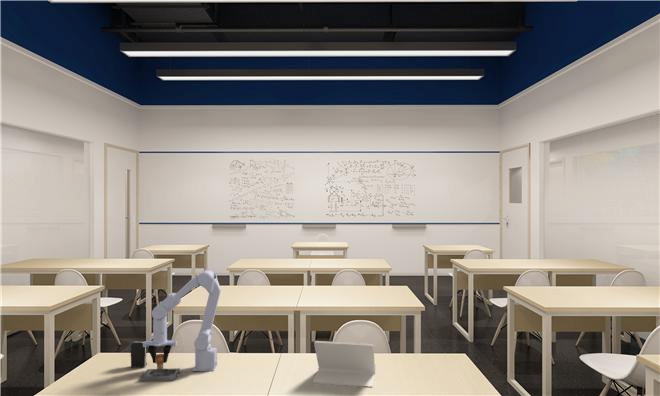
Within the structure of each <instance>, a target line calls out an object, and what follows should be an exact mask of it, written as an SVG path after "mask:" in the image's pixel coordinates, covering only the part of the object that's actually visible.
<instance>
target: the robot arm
mask: <svg viewBox="0 0 660 396" xmlns="http://www.w3.org/2000/svg"><path fill="white" fill-rule="evenodd" d="M198 287H202V288H204V289H205V291H206V292H208V298H207V301H206V304H205V305H206V306H205V310H204V313H203V318H202V322H201V326H200V329H199V332H198V336H197V338H195V341H194V343H193V344H194V355H195V356H194V358H195V359H194V363H195V365H194V367H193V369H192V372H206V371H207V372H210V371H214V370H215V369H216V367H217V366H218V349H217V347H213V346H212V344H211V342H212V340H213V334H212V330H213V326H214V324H213V323H214V322H215V321H214V320H215V317H216V311H217V309H218V308H217V307H218V304H219V299H220V295H221V291H222V288H221V286H220V283H219V281H218V275H217V274H216V273H215V272H214V270H212V269H204V270H203V271H202V272H201V273H199V274H197V275H195V276H194V277H192V278H191V279H190V280H189V281H188V282H187V283H186V284H184V286H182V288H181V289H179V290H178V291H177V292H172V293H168V295H166V298H164V299H163V300H162V301H159V303H158V304H157V305H156V306H155V307H154V308H153V309H152V311H151V316H152V318H153V320H152V321H153V324H152V328H153V330H152V334H153V336H152V337H153V339H152V340H147V341H146V340H144V341H145V342H143V347H146V346H148V352H149V354H150V356H151V359H152V363H153V364H156V363H155V355H157V352H158V351H157V349H158V347H163V348H162V350H163V354H164V363H165V364H167V362H168V358H169V355H170V352H171V349H172V348H173V347H177V345H178V340H173V339H172V340H170V339H168V319H167V318H168V317H167V315H168V314H169V313H170V312H171V311H172V310H174V309H175V308H176V307H177V306H178V305H180V304H181V303H182V298H183V297H184V296H186V294H187V293H189V292H190V291H191V290H193V289H195V288H198ZM164 363H163V364H164Z"/></svg>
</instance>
